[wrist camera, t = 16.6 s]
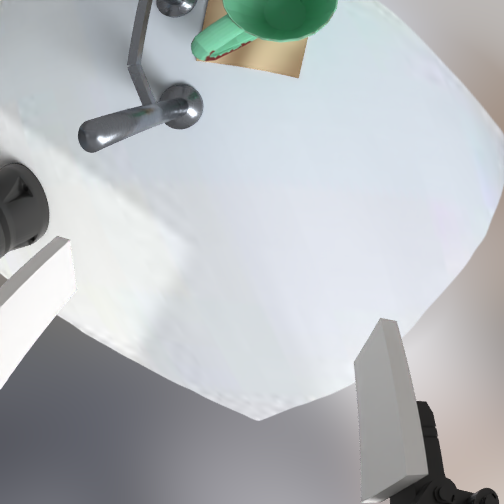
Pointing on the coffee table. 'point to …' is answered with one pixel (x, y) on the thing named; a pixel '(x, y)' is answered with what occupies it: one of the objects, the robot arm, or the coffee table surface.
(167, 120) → the metal wall bracket
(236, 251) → the coffee table surface
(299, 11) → the mug
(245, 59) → the coaster
